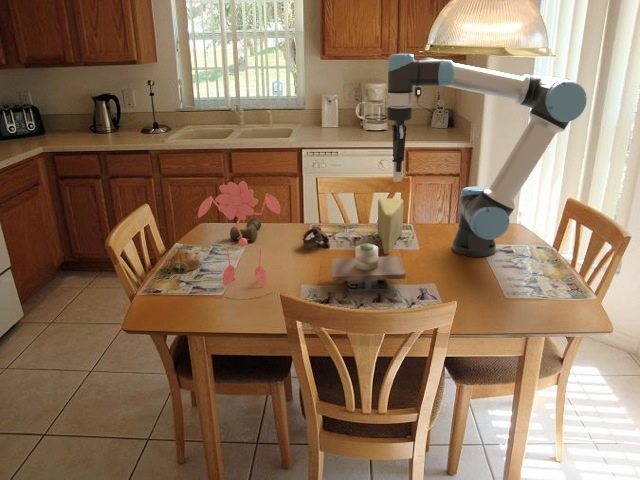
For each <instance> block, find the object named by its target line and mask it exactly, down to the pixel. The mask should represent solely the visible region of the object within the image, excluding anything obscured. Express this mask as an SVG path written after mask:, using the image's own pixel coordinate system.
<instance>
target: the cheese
mask: <svg viewBox="0 0 640 480" xmlns="http://www.w3.org/2000/svg"><path fill="white" fill-rule="evenodd" d="M377 201H378V202H377V233H378V237H379V239H380V240H381V246H382V250H383V254H384V255H390V254H391V252H392V250H393V248H394V246H395V244H396V242H397V241H398V239H399V237H401V235H402V233H403V224H404V223H403V222H404V221H403V220H404V200H403V199H402V198H390V197H389V198H385V197H384V198H383V197H381V198H378V200H377Z"/></svg>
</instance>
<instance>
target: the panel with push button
mask: <svg viewBox="0 0 640 480" xmlns="http://www.w3.org/2000/svg"><path fill="white" fill-rule="evenodd" d="M354 252H355V257H344V258H340V257H339V258H338V257H337V258H331V261H330V262H331V279H332V281H331V282H348V281H357V280H383V279H386V280H401V279H403V280H404V279H406V272H405V269H404V266H403V263H402V260H401V257H400V255H398V256H397V255H393V256H392V255H391V256H389V255H388V256H379V247H378V246H377V245H375V244H372V243H362V244H359V245H357V246H356V247H355V250H354Z"/></svg>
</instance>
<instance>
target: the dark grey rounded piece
mask: <svg viewBox="0 0 640 480" xmlns="http://www.w3.org/2000/svg"><path fill="white" fill-rule="evenodd" d="M261 227H262V222H261V220H260V219H258V218H257V217H253V218H251V219H249V222H247V223H246V228H245V229H242V228H241V229H240V228H239V229H240V232H241V235H242V238H245V239H246V240H249V241H250V242H252V243H255V242H256V241H257V239H258V230H260V229H261ZM229 237H230V240H231V241H233V242H234V241H239V240H240V239H241V236H240V234H239V231H238V229H237V227H236V226H232V227H231V228H230V231H229Z"/></svg>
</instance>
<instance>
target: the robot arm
mask: <svg viewBox="0 0 640 480" xmlns="http://www.w3.org/2000/svg"><path fill="white" fill-rule="evenodd" d="M387 68H388V69H387V95H386V96H385V100H387V106H388V107H387V109H386V110H387V112H386V113H387V115H386V118H387V120H389V121H394V122H393V123H394V124H392V126H391V130H392V157H393V159H391V160H392V163H393V167H392V168H393V169H392V171H393V172H392V174H393V175H392V177H393V178H392V181H393V182H394V183H395V182H403V167H404V164H403V163H404V161H405V147H406V146H405V145H406V136H407V133H406V132H407V126H406V125H405V121H410V120H411V119H412V118H413V117H412V115H413V112H412V111H413V108H412V106H413V97H414V96H413V95H414V94H413V93H414V91H413V90H414V89H413V88H414V87H448V88H454V89H458V90H464V91H467V92H468V91H469V92H474V93H478V94H483V95H488V96H491V97H498V98H502V99H507V100H510V101H511V100H512V101H515V103H516V104H517V105H520V106H524V107H527V108H529V109H530V108H531V109H530V110H529V111H530V112H529V113H528V114H529V118H530V121H529V123H528V124H527V126H526V128H525V129H524V131H523V132H522V134H521V136H520V137H519V138H518V140H517V142H516V144H515V145H514V147H513V149H512V150H511V152H510V154H509V156H508V157H507V159H506V160H505V162H504V163H503V165H502V167H501V168H500V170H499V172H498V173H497V175H496V177H495V178H494V180H493V182H492V183H491V184H490V186H489V187H488V186H467V187H463V188H462V189H461V192H460V195H459V197H460V203H459V218H458V229H457V231H456V233H455V235H454V238H453V240H452V243H451V245H452V247H451V248H452V250H453V251H454V252H456V253H458V255H459V254H460V255H462V256H468V257H477V258H478V257H489V256H491V255H493V254H495V253H496V249H497V248H496V247H497V246H496V245H497V244H496V239H498V238H501V237H502V236H503V235H504V234H506V232H507V231H508V229H509V226H510V217H511V214H513V212H514V211H515V209H516V205H515V199H516V198H517V196H518V195H519V193H520V191H521V190H522V189H523V186H524V185H525V183H526V182H527V180H528V178H529V177H530V176H531V174H532V172H533V171H534V170H535V167H536V166H537V164H538V163H539V161H540V159H542V156H543V155H544V153H545V152H546V150H547V148H549V145H550V144H551V142H552V141H553V139H554V137H555V136H556V134H558V133H562V132H564V131H565V129H566V128H567V127H568V125H569V123H570V122H572V121H574V120H576V119H577V118H579V117H580V116H581V115H582V114H583V113H584V112H585V111H584V110H585V109H586V106H587V101H588V100H587V99H588V97H587V93H586V90H585V88H584V87H583V85H581V84H580V83H579V82H576V81H575V80H572V79H570V78H563V77H562V78H561V77H558V76H541V75H533V74H528V73H526V74H524V75H521V76H520V75H515V74H510V73H505V72H502V71H497V70H491V69H487V68H481V67H476V66H471V65H466V64H462V63H455V62H453V60H452V59H437V58H436V59H435V58H433V57H428V56H427V57H423V58H422V59H420V60H416V59H415V55H414V54H412V53H393V54H391V55H390V56H389V58H388V66H387Z"/></svg>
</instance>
